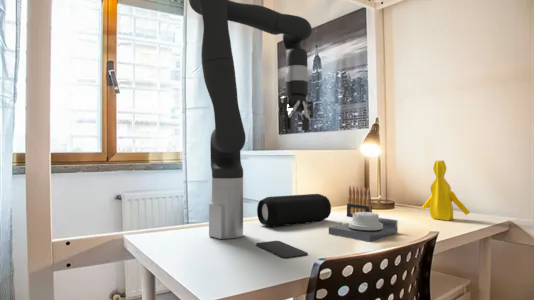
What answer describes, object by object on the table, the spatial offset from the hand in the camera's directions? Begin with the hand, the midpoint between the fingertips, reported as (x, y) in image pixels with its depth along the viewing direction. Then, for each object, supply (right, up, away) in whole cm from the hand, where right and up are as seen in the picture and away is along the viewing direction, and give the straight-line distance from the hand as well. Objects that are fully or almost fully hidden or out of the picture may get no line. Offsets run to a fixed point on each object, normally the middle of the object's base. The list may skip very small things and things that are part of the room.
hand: (296, 130), depth 122 cm
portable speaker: (0, -33, +7) cm, 33 cm away
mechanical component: (+20, -30, -11) cm, 38 cm away
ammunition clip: (+25, -33, +18) cm, 45 cm away
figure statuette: (+56, -33, +15) cm, 66 cm away
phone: (-6, -32, -28) cm, 44 cm away
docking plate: (+20, -32, -9) cm, 39 cm away
